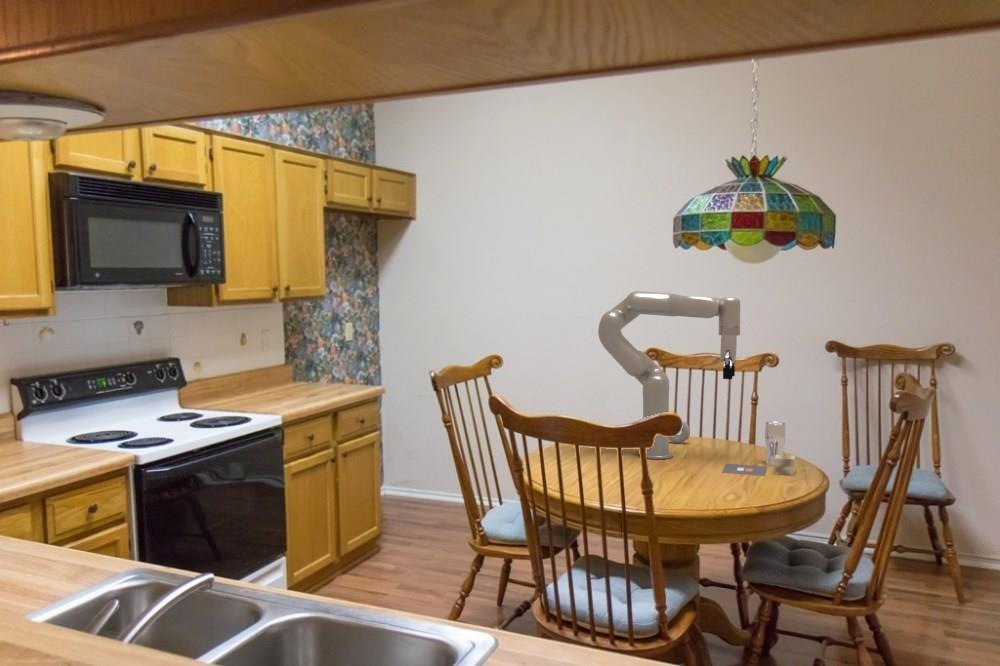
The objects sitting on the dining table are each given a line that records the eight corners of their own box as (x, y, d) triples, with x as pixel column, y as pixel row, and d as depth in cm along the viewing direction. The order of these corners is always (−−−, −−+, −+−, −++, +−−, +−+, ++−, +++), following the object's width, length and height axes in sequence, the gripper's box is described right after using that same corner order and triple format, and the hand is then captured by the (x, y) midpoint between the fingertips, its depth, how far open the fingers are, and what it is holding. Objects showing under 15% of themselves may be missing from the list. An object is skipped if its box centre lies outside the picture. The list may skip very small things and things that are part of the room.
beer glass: (782, 462, 270) (782, 421, 269) (787, 467, 263) (788, 425, 262) (762, 462, 271) (762, 421, 270) (767, 466, 264) (767, 424, 263)
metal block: (774, 475, 252) (775, 458, 252) (775, 471, 258) (775, 454, 257) (794, 477, 250) (794, 459, 250) (794, 473, 255) (794, 455, 255)
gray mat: (721, 474, 255) (721, 472, 255) (725, 464, 268) (725, 463, 268) (765, 477, 250) (765, 476, 250) (767, 468, 262) (767, 466, 262)
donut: (664, 443, 306) (664, 419, 305) (665, 441, 309) (665, 417, 308) (689, 444, 302) (689, 420, 302) (690, 443, 305) (690, 418, 305)
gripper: (721, 329, 284) (720, 374, 285) (716, 332, 268) (715, 380, 269) (741, 330, 281) (741, 375, 282) (738, 332, 265) (737, 380, 266)
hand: (728, 377), depth 275 cm, fingers open, 9 cm apart
